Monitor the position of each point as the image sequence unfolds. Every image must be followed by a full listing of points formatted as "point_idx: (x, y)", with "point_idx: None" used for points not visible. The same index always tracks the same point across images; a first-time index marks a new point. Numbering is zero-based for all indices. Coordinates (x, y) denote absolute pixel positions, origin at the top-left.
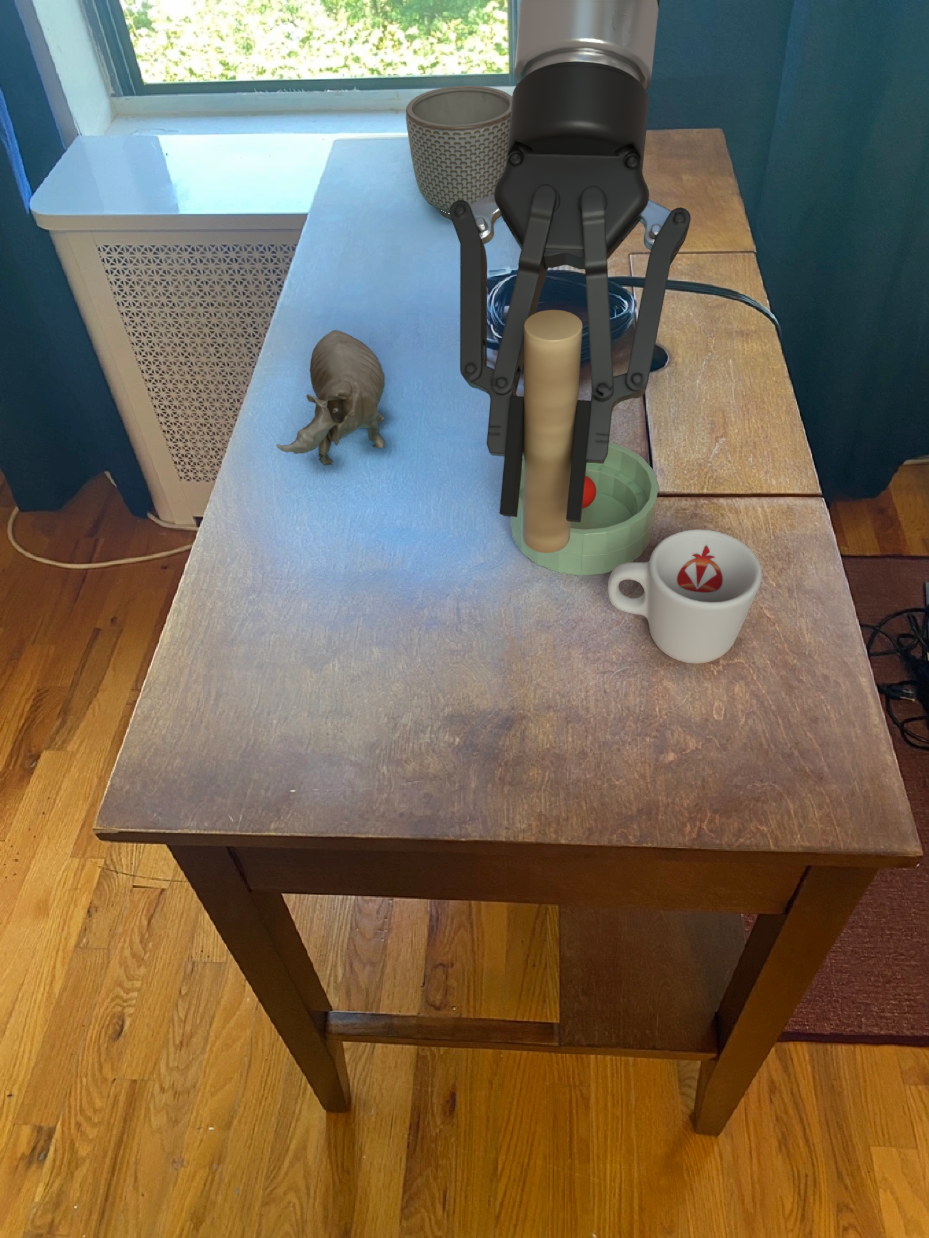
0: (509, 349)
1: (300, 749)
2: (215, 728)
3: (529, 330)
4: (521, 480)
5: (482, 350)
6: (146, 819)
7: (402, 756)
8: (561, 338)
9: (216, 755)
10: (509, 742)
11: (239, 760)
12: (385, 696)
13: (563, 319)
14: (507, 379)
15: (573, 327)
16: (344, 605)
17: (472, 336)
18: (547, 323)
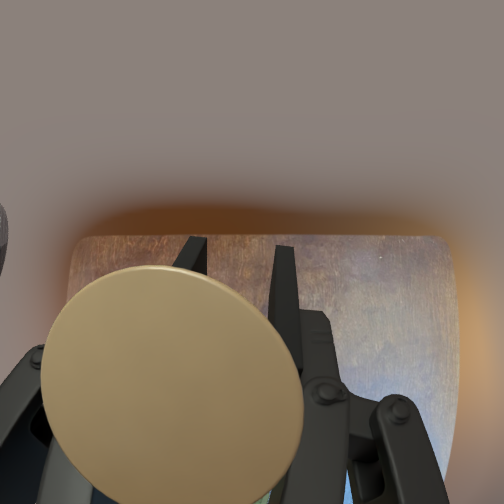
0: (319, 465)
1: (384, 284)
2: (427, 294)
3: (276, 365)
4: (259, 501)
5: (380, 463)
6: (435, 239)
7: (327, 282)
8: (116, 283)
9: (421, 277)
10: (263, 295)
11: (410, 274)
12: (344, 326)
13: (105, 440)
14: (314, 402)
15: (65, 368)
16: (378, 397)
17: (415, 475)
18: (179, 428)
